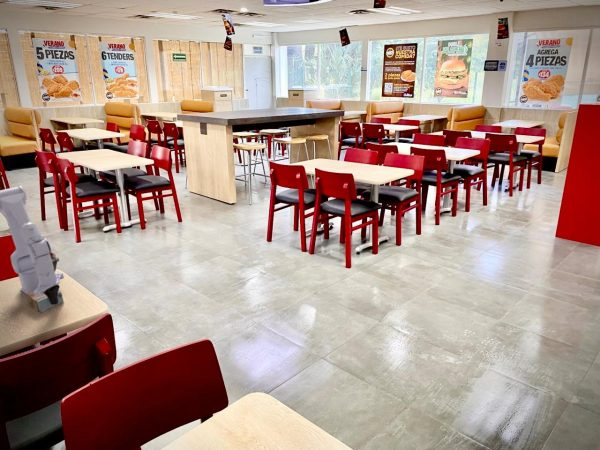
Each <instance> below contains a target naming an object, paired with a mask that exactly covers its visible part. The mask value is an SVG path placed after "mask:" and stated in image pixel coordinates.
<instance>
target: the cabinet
mask: <svg viewBox="0 0 600 450" xmlns="http://www.w3.org/2000/svg"><path fill="white" fill-rule="evenodd" d="M34 291H35V290H33V291H31V292H28V293H26V294H25V295H26V300H27V302H28V304H29V306H30V307H32V308H33V309H34V310H35V311H37V312H38V313H41V312H40V311H39V307H38V304H37V301H38V300H40V299H42V298H45V297H47V296H46V295H45V294H44V293H42V294H41V296H35V295H34ZM59 291H61V290H60V289H59V290H58V292H59Z"/></svg>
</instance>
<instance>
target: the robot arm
mask: <svg viewBox="0 0 600 450" xmlns="http://www.w3.org/2000/svg"><path fill="white" fill-rule="evenodd" d="M26 204H27V195H26V192H25V190H24V188H23V186H21V185H17V186H14V187H10V188H5V189H1V190H0V212H2V213H3V214H4V216H5V219H6V222H7V225H8V228H9V231H10V234H11V237H12V240H13V244H14V246H15V250H14V251H13V253H12V254H11V255H10V262H11V266H12V268H13V270H14V272H15V273H16V274H18V278H19V281H20V284H21V287H20V288H19V290H20V291H22V292H23V293H24V294H25V295H26V293H28V292H31V291H33V290H35V291H34V295H35V296H41V294H42V293H44V294H45V295H46V296H47V297H48V298H49V301H50V303H51V305H56V304H58V298H57V296H58V290H60V285H59V284H60V283H61V281H60V280H63V279H64V273H61V272H59V273H57V274H56V271H54V267H53V263H52V260H51V256H50V254H49V253H52V248H51V244H50V243H49V241H48V239H47V238H45V236H43V235H42V233H41V231H40V229H39V227H38V226H37V224H36V223H35V222H32V221H31V219H30V217H29V214H28V211H27V209H26V206H25V205H26ZM58 305H59V304H58ZM56 306H57V305H56Z"/></svg>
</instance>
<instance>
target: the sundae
mask: <svg viewBox="0 0 600 450" xmlns="http://www.w3.org/2000/svg"><path fill="white" fill-rule="evenodd" d="M49 254H50V256H51V260H52V263H53V267H54V271H55V272H56V270H57V263H58V262H60V258H59V257H57V256H56V253H54V252H51V253H49Z"/></svg>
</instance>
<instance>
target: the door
mask: <svg viewBox="0 0 600 450" xmlns="http://www.w3.org/2000/svg"><path fill="white" fill-rule="evenodd" d="M57 298H58V304H56V305H51V303H50V301H49V298H48V297H45V298H42V299H40V300H38V301H37V304H38V307H39V311H40V312H39V313H42V312H44V311H47V310H49V309H51V308H53V307H55V306H58V305H60V304H63V303H64V302H65V301H64V297H63V294H62V291H61V290H60V291H59V292H58V296H57Z"/></svg>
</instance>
